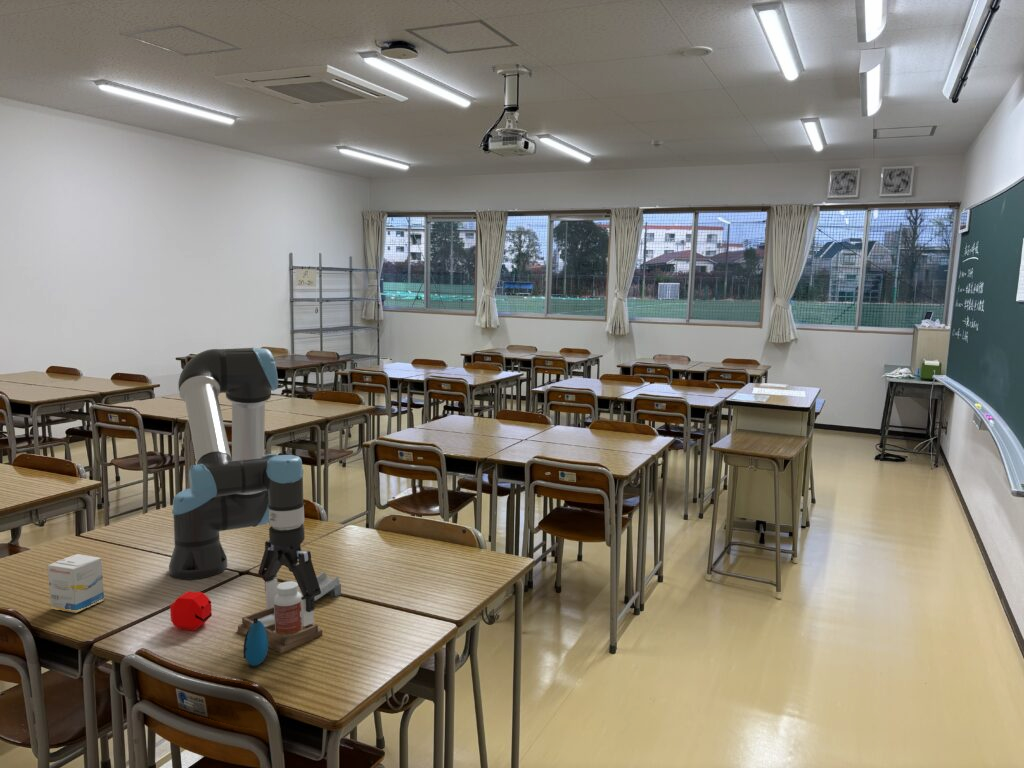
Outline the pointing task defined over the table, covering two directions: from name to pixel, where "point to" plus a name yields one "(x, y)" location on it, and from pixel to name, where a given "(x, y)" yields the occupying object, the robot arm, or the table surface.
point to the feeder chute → (327, 586)
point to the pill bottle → (287, 609)
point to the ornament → (256, 643)
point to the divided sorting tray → (275, 639)
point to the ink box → (75, 582)
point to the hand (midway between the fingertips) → (289, 615)
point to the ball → (190, 610)
